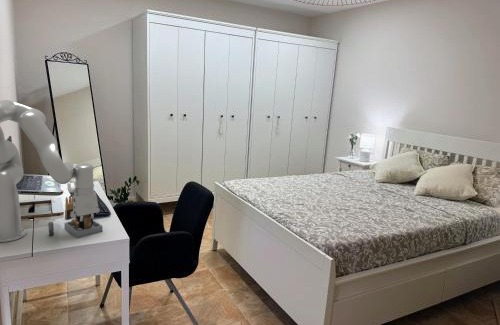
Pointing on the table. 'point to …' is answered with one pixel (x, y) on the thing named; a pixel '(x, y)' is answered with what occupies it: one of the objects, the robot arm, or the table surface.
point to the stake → (51, 228)
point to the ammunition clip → (69, 208)
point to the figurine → (71, 187)
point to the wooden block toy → (86, 222)
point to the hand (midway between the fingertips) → (86, 226)
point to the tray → (80, 232)
